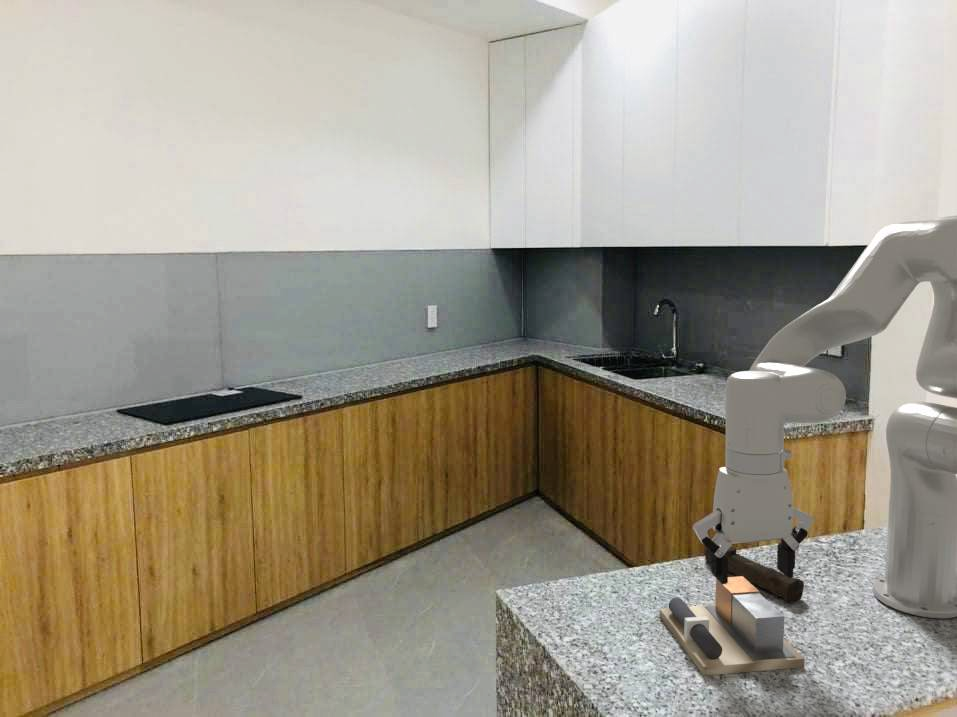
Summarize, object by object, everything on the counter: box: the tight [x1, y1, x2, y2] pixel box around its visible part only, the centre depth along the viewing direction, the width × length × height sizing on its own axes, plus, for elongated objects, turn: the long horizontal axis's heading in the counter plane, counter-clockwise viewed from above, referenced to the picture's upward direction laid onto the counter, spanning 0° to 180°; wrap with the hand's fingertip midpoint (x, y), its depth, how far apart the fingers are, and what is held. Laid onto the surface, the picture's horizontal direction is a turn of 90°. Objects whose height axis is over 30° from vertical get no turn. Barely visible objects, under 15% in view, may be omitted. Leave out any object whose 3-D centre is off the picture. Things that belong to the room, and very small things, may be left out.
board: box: [659, 604, 806, 676], centre depth 102 cm, size 14×16×1 cm
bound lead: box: [668, 596, 722, 660], centre depth 101 cm, size 3×13×3 cm, turn 6°
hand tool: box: [704, 546, 805, 605], centre depth 121 cm, size 19×4×5 cm, turn 27°
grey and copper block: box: [714, 576, 785, 653], centre depth 102 cm, size 4×12×5 cm, turn 6°
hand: (752, 576), depth 101 cm, fingers open, 9 cm apart
